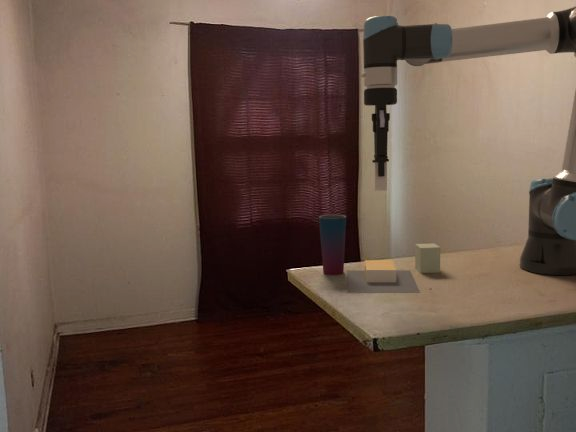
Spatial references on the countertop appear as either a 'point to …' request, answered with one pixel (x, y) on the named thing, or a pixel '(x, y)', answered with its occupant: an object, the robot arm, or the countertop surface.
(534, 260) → the robot arm
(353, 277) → the mat
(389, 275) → the ochre slab
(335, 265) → the cup
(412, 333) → the countertop surface
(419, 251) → the sage block
